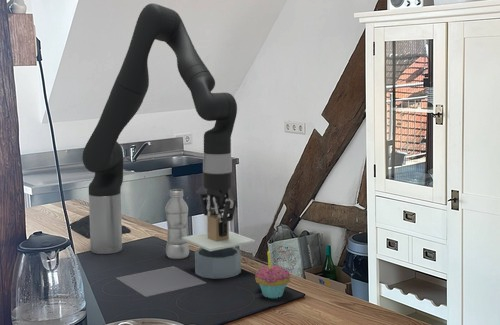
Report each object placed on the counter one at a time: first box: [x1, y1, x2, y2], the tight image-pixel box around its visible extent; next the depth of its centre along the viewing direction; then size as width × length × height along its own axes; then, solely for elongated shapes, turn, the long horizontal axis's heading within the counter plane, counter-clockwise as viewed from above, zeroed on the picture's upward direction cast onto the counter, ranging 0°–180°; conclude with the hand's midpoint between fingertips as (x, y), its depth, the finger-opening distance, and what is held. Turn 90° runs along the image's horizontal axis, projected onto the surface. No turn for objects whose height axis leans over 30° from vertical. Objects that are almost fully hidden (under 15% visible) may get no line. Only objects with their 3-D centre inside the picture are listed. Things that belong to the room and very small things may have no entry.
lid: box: [182, 214, 256, 251], centre depth 171 cm, size 14×14×7 cm
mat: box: [115, 265, 207, 298], centre depth 165 cm, size 17×17×1 cm
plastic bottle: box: [164, 188, 190, 260], centre depth 185 cm, size 6×7×20 cm
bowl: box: [194, 247, 242, 280], centre depth 173 cm, size 12×12×6 cm
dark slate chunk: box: [69, 214, 131, 240], centre depth 219 cm, size 15×22×5 cm
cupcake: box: [254, 248, 291, 299], centre depth 157 cm, size 9×8×12 cm
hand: (218, 234), depth 172 cm, fingers closed on lid, 4 cm apart
